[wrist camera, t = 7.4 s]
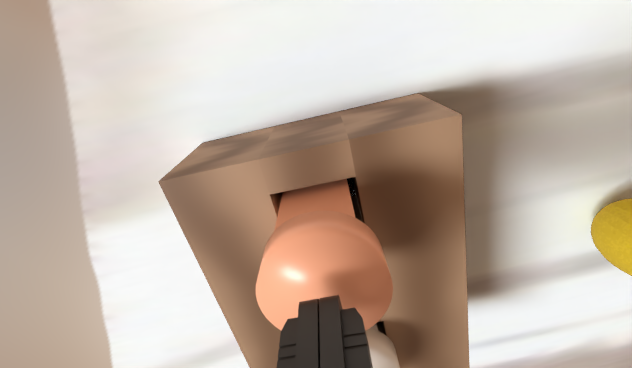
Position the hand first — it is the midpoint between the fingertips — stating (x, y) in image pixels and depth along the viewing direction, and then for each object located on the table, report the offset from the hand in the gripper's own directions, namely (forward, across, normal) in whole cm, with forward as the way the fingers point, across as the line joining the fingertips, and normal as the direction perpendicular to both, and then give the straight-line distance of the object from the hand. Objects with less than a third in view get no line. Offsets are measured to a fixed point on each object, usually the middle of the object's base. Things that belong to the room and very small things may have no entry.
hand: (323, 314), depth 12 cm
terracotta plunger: (+9, 0, 0) cm, 9 cm away
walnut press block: (+14, 0, +6) cm, 15 cm away
